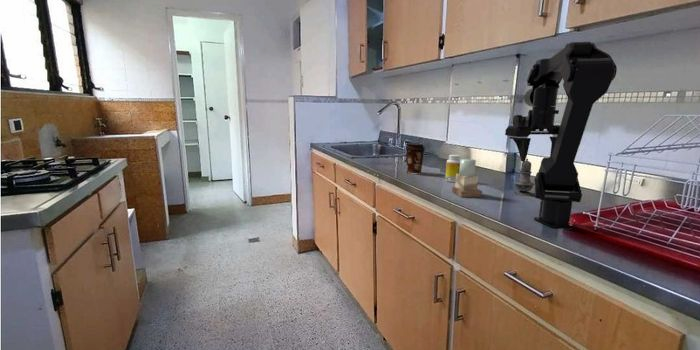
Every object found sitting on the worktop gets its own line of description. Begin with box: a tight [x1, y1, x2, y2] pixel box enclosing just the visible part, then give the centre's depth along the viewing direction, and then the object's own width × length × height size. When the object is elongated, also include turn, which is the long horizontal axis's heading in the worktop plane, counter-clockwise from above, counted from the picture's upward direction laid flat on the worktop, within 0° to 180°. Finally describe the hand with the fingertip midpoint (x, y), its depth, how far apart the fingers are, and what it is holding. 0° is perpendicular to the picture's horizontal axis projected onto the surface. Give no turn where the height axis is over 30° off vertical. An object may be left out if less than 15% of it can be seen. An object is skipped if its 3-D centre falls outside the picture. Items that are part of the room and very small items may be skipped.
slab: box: [451, 185, 483, 198], centre depth 111 cm, size 7×7×2 cm
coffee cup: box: [405, 142, 426, 175], centre depth 147 cm, size 9×8×13 cm
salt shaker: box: [514, 158, 535, 197], centre depth 112 cm, size 6×6×12 cm
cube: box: [454, 174, 479, 191], centre depth 111 cm, size 5×5×4 cm
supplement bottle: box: [445, 154, 461, 183], centre depth 131 cm, size 6×6×10 cm
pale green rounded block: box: [459, 158, 477, 176], centre depth 110 cm, size 5×5×5 cm
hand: (537, 161), depth 97 cm, fingers open, 9 cm apart
